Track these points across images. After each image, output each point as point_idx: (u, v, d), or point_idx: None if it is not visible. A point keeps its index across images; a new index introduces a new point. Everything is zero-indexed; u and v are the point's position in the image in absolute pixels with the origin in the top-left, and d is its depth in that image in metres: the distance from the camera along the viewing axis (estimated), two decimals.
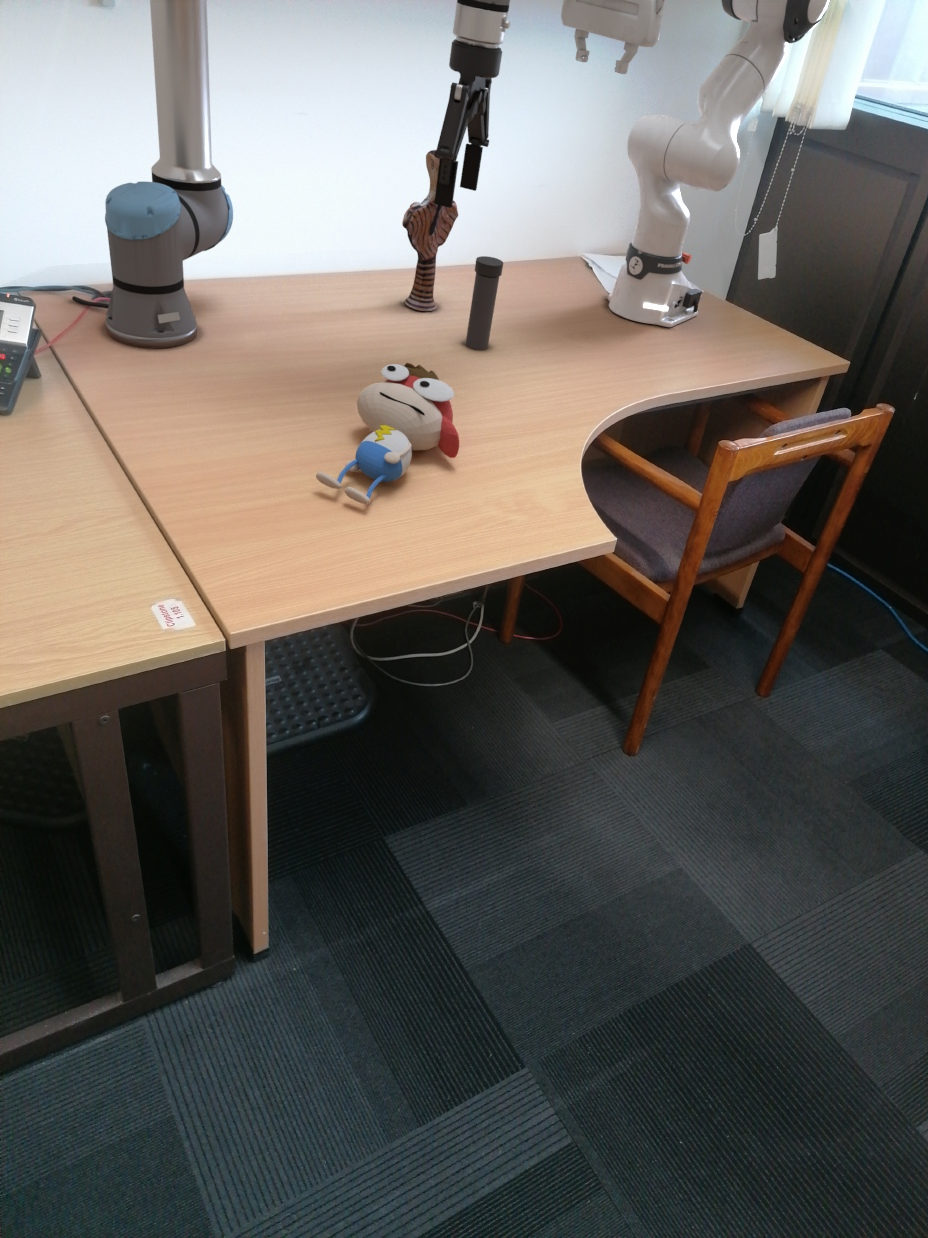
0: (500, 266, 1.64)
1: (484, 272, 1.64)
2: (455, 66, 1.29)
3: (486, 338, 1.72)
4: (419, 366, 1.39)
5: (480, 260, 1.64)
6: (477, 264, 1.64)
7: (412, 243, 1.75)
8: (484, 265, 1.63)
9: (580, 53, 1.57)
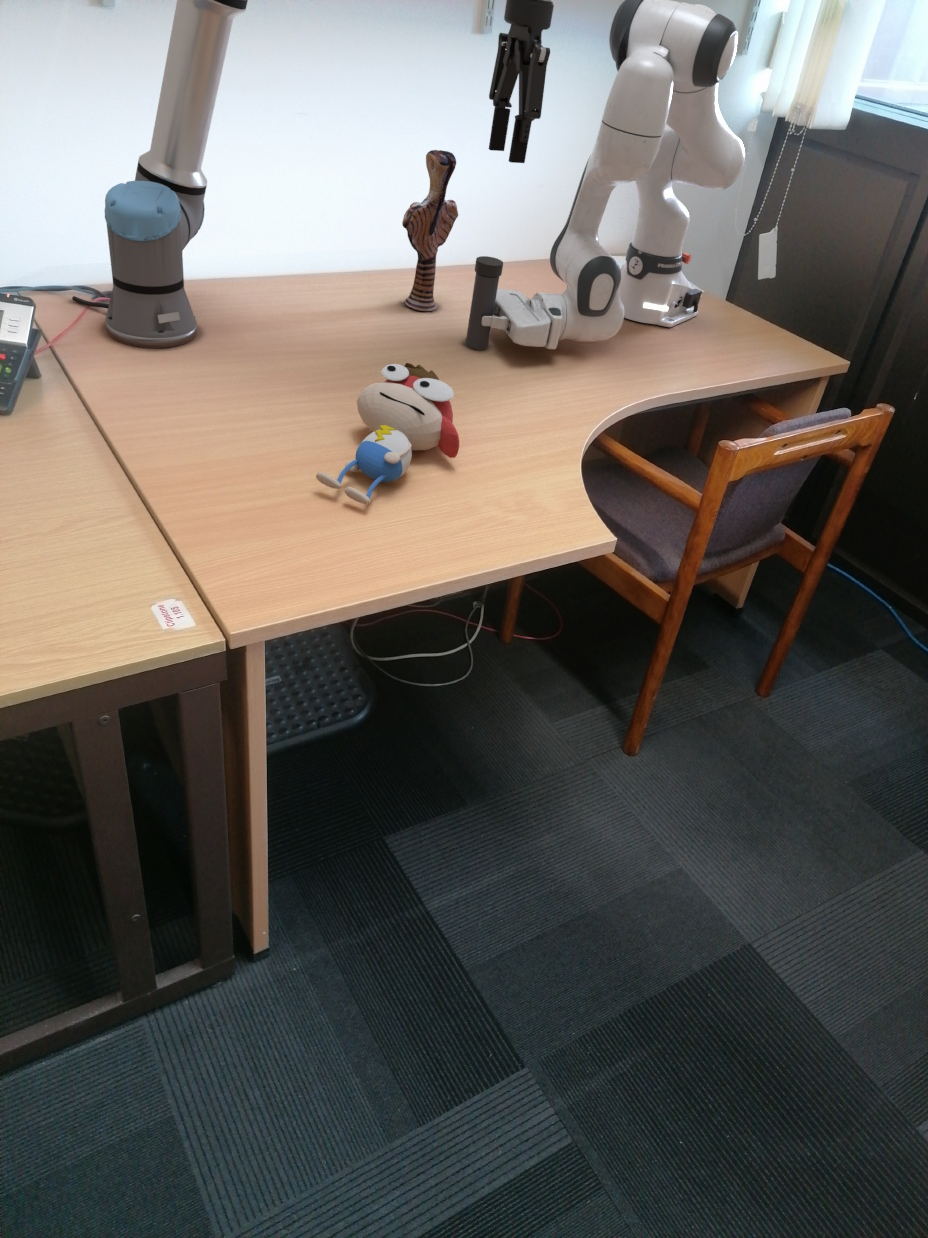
0: (500, 266, 1.64)
1: (484, 272, 1.64)
2: None
3: (486, 338, 1.72)
4: (419, 366, 1.39)
5: (480, 260, 1.64)
6: (477, 264, 1.64)
7: (412, 243, 1.75)
8: (484, 265, 1.63)
9: None
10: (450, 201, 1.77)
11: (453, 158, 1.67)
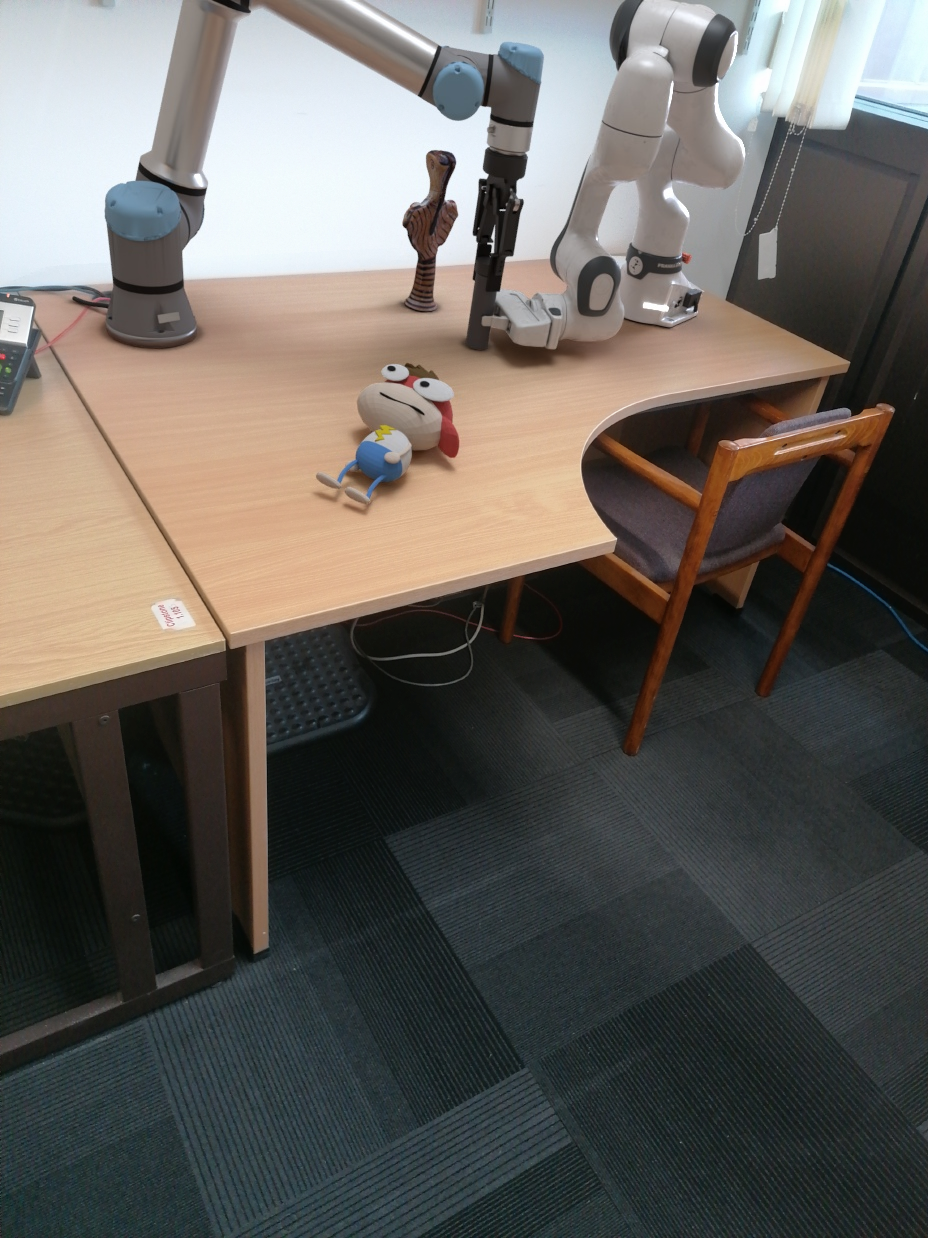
0: None
1: (484, 272, 1.64)
2: None
3: (486, 338, 1.72)
4: (419, 366, 1.39)
5: (480, 260, 1.64)
6: (477, 264, 1.64)
7: (412, 243, 1.75)
8: (484, 265, 1.63)
9: None
10: (450, 201, 1.77)
11: (453, 158, 1.67)
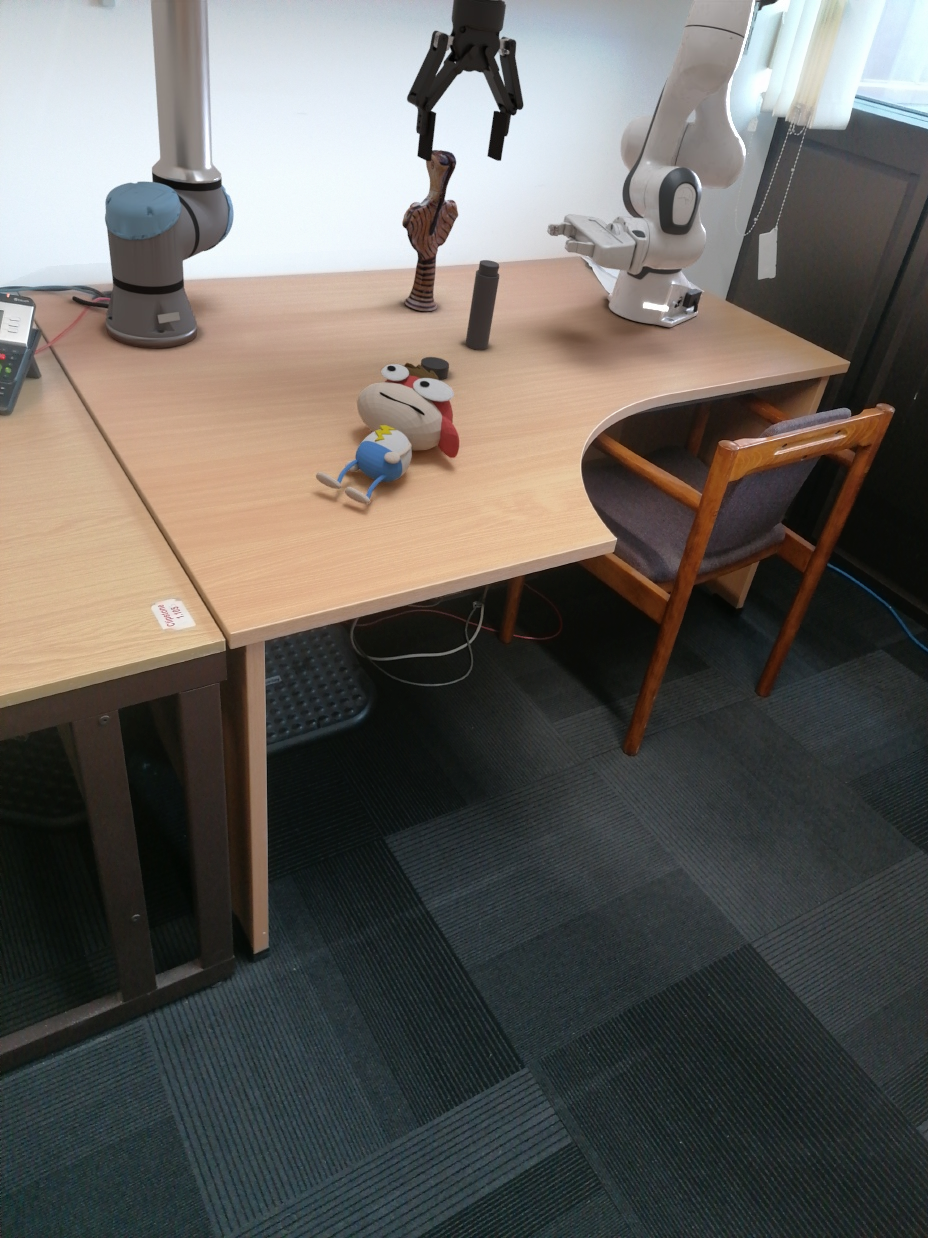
0: None
1: None
2: None
3: (486, 338, 1.72)
4: (419, 366, 1.39)
5: (442, 361, 1.61)
6: None
7: (412, 243, 1.75)
8: None
9: None
10: (450, 201, 1.77)
11: (453, 158, 1.67)
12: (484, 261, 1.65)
